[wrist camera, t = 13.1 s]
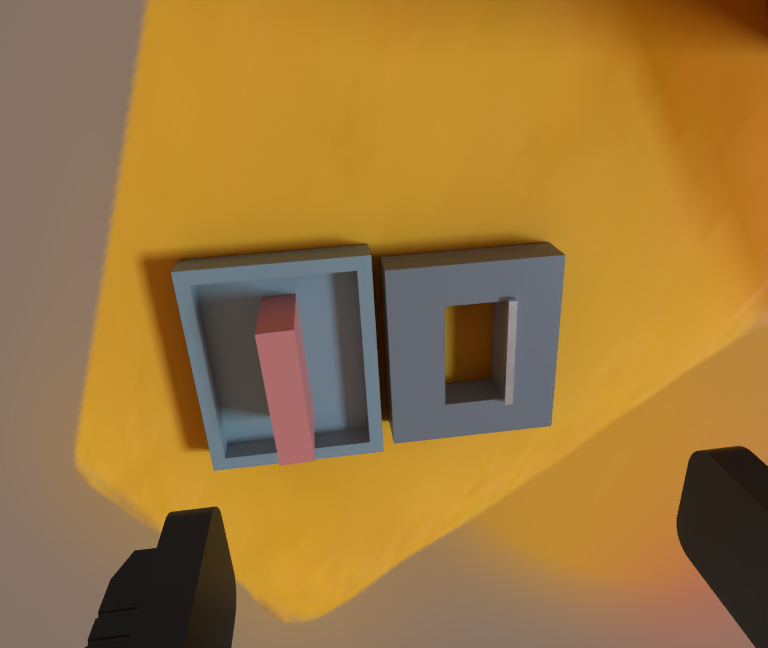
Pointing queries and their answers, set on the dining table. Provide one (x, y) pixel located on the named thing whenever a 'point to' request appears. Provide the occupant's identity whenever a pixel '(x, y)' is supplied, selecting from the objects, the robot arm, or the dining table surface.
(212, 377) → the tray
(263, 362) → the pink block
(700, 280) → the dining table surface
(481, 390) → the grey square-hole plate
